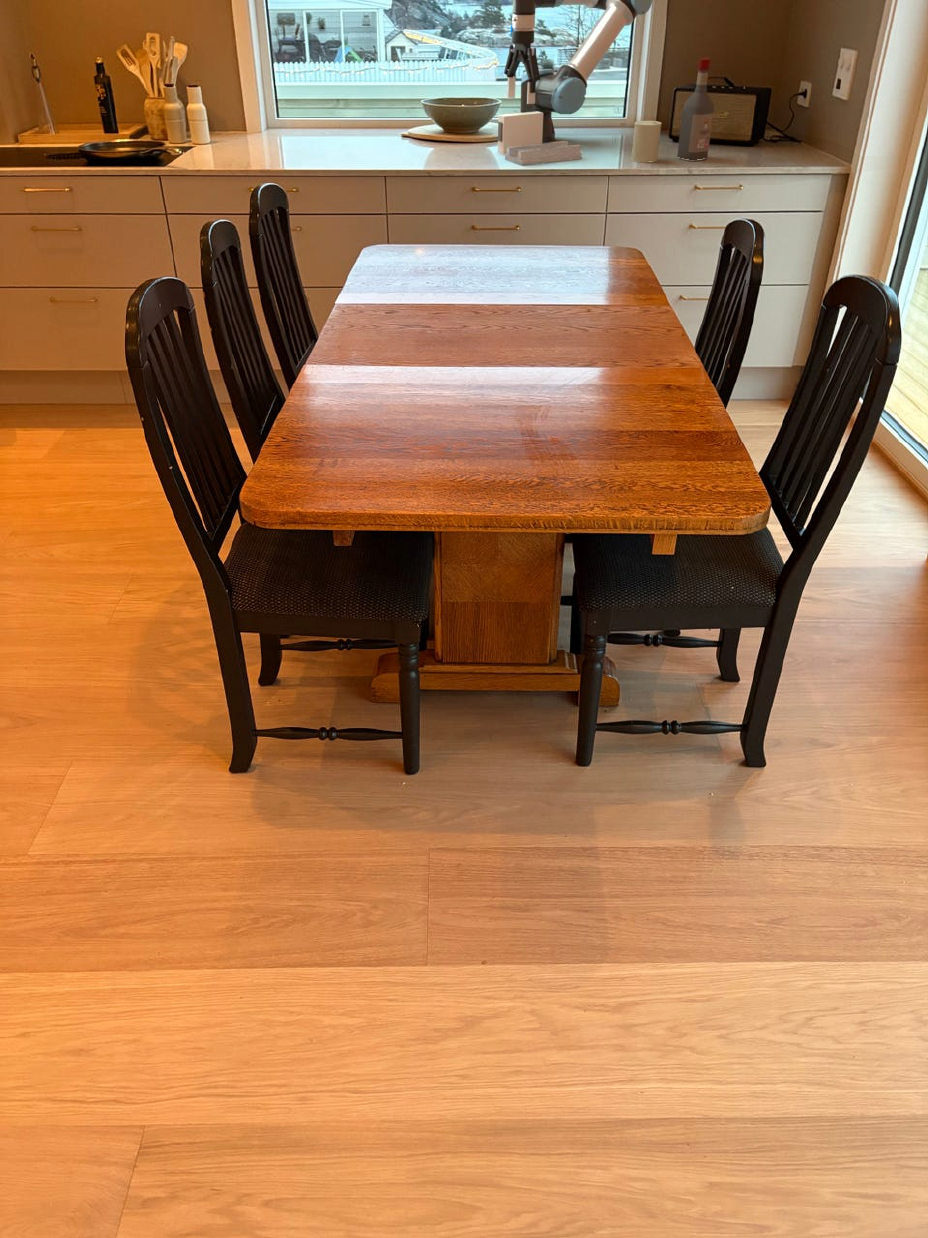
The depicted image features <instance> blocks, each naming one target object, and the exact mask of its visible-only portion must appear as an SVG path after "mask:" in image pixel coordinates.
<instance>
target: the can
mask: <svg viewBox="0 0 928 1238" xmlns="http://www.w3.org/2000/svg"><path fill="white" fill-rule="evenodd" d="M661 129H662V122H660V121H657V120H638V121H637V120H636V121H635V122H634V127H633V138H632V148H631V149H632V151H631V157H630V160H631V159H632V160H634V161H633V162H635V161H640V162H639V163H642V162H649V161H656V160H658V161H659V159H658V158H659V146H660V138H661ZM632 160H631V161H632ZM656 162H657V161H656Z"/></svg>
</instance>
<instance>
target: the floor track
mask: <svg viewBox="0 0 928 1238" xmlns="http://www.w3.org/2000/svg"><path fill="white" fill-rule="evenodd" d="M581 146H582V145H580V144H571V145H570V144H569V141H567V140H561V141H560V140H559V141H552V142H546V143H540V144H530V145H520V146H511V147H506V154H504V160H506V161H509V162H511V163H514V164H517V165H520V166H528V165H527V164H531V165H535V163H539V164H547V163H546V162H548V163H555V161H557V162H563V160H566V161H571V160H570V159H574V160H579V159H578V158H582V157H583V154H582V153H581ZM582 159H583V158H582Z"/></svg>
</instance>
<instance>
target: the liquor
mask: <svg viewBox="0 0 928 1238" xmlns="http://www.w3.org/2000/svg"><path fill="white" fill-rule="evenodd" d="M710 65H711V58H708V57H707V58H706V57H704V58H703V57H702V58H699V60H698V68H697V70H698V71H697V72H698V73H697V79H696V84H695V85H696V86H695V88H694V92H693V93H692V94H691V95H690V96H689V97H688V99H687V100H685V102H684V104H683V106H682V113H681V124H680V131H679V136H678V137H679V139H678V146H677V158H678V157H680V158H684V159H689V160H697V159H703V158H706V159H707V158H708V154H709V148H710V147H709V146H710V140H711V132H712V125H713V118H714V111H715V105H714V101H713V99H712V98H711V97H710V95H709V93H708V88H707V85H708V77H709V71H710Z"/></svg>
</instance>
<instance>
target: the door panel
mask: <svg viewBox="0 0 928 1238" xmlns="http://www.w3.org/2000/svg"><path fill="white" fill-rule="evenodd" d="M497 115H498V120H497V121H498V122H497V153H499V154H501V155H505V154H506V147H511V146H520V145H530V144H540V143H542V133H543V113H542V112H538V111H536V112H525V113H521V112H517V113H516V112H515V113H505V114H497Z"/></svg>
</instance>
